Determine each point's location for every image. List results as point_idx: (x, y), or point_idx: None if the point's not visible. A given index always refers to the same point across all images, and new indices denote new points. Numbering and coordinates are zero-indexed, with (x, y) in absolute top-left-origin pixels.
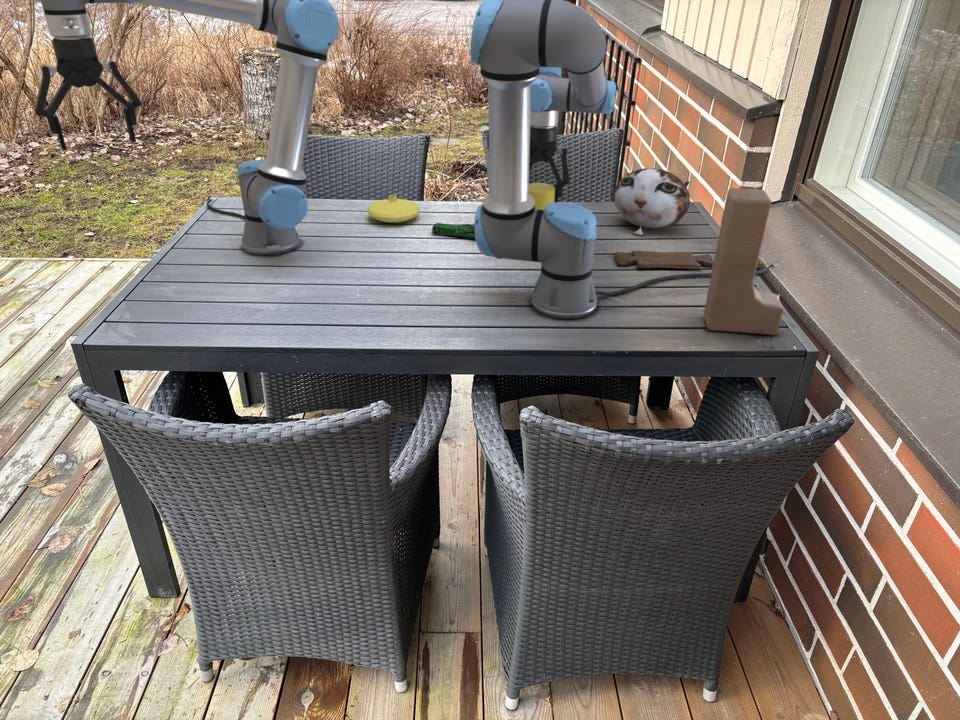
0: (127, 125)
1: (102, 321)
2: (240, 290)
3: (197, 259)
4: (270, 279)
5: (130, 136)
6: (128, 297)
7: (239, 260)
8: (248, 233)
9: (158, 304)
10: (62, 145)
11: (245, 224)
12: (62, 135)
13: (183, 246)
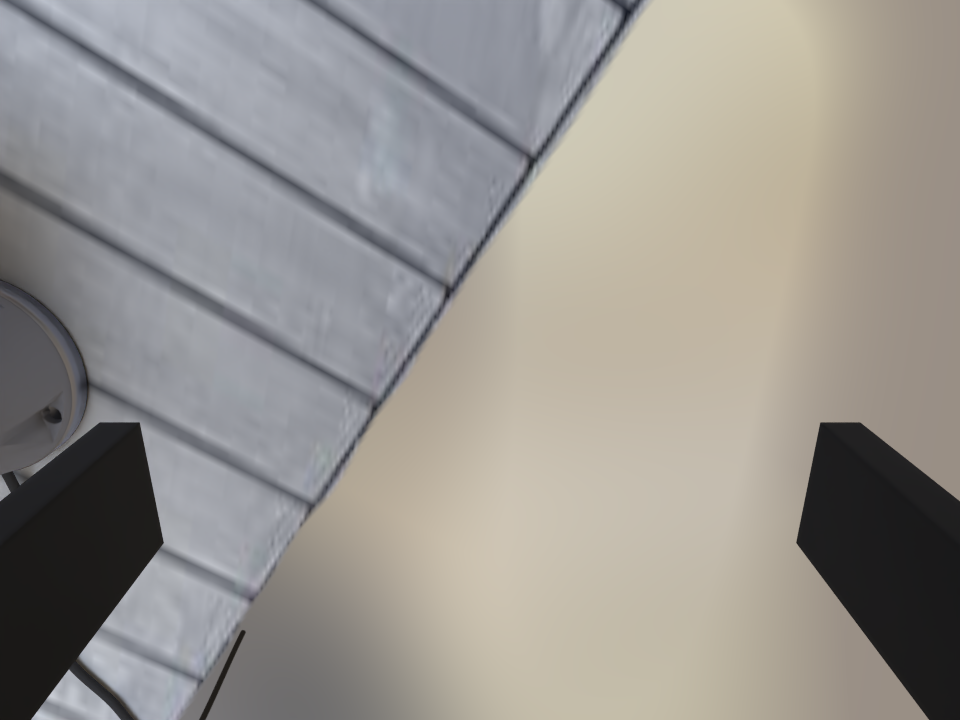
0: (49, 610)
1: (633, 15)
2: (145, 11)
3: (250, 378)
4: (22, 53)
5: (119, 494)
6: (515, 177)
7: (113, 295)
8: (15, 371)
9: (438, 55)
10: (883, 449)
11: (3, 416)
12: (929, 512)
13: (276, 505)
